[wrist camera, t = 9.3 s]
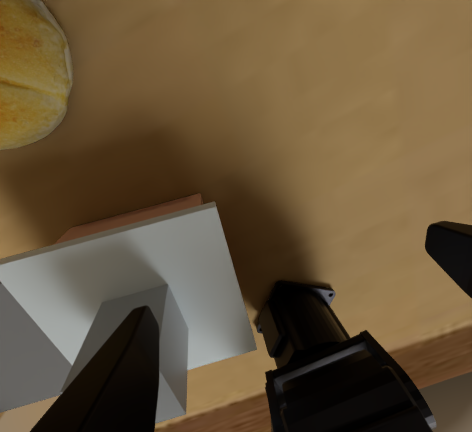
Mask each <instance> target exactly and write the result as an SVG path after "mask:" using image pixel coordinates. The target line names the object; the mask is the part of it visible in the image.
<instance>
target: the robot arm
mask: <svg viewBox="0 0 472 432" xmlns="http://www.w3.org/2000/svg"><path fill="white" fill-rule="evenodd" d="M425 249H426V251H427V253H428V254H429V255H430V256H431V257H432V258H433V259H434V260H435V261H436V263H437V264H438V265H439V266H440V267H441V268H442V269H443V270H444V271H445V272H446V273H447V274H448V275H449V276H450V277H451V278H452V279H453V280H454V281H455V282H456V283H457V285H458V286H459V287H460V288H461V289H462V290H463V291H464V292H465V293H466V294H468V295H469V296H470V297H471V298H472V225H467V224H461V223H454V222H448V221H440V222H437V223H433V224H431V225H429V227H428V229H427V235H426V242H425ZM279 286H281V287H279ZM334 297H335V292H334V290H333V289H331V288H325V287H319V286H313V285H306V284H300V283H293V282H287V281H278V282H276V283H275V285H274V288H273V290H272V292H271V294H270V297H269V299H268V300H267V301H266V303H265V305H264V308H263V310H262V312H261V314H260V317H259V321H258V324H257V326H256V329H257V332H258V333H263V337H264V340H265V344H266V347H267V351H268V354H269V356H270V357H271V358H274V359H275V362H276V366H277V369H275V370H273V371H272V370H269V371H267V372H265V374H266V380H267V383H266V387H265V389H266V393H267V397H268V402H269V408H270V414H271V432H433V431H432V430H433V429H435V428H436V422H435V419H434V417H433V414H432V412H431V410H430V408H429V407H428V405H427V403H426V401H425V400H424V398H423V396H422V395H421V394H420V392H419V390H418V389H417V387H416V386H415V384H414V383H413V381H412V380H411V379H410V378H409V376H408V375H407V374H406V372H405V371H404V370H403V369H402V368H401V367H400V366H399V365H398V364H397V362H396V361H395V360H394V359H393V358H392V357H391V356H390V355H389V354H388V353H387V352H386V351H385V350H384V349H383V347H382V346H381V345H380V344H379V343H378V342H377V341H376V340H375V339H374V338H373V337H372V336H371V335H370V334H369V332H368V331H367V330H365V331H363V332H360V334H359V335H356V336H354V337H352V338H350V336H349V335H348V333H347V332H346V330H345V329H344V327H343V326H342V324H341V323H340V321H339V320H338V318H337V316H336V315H335V313H334V312H333V310H332V309H331V307H330V306H329V305H330V304H331V302H332V300H333V298H334ZM159 353H160V330H159V324H158V322H157V320H156V318H155V316H154V314H153V312H152V311H151V309H150V307H149V306H148V305H143V306H140V307H136V308H134V309H133V310H132V311H131V312H130V313H129V314H128V315H127V317H126V318H125V319H124V320H123V321H122V322H121V324H120V325H119V326H118V327H117V328H116V330H115V331H114V332H113V333H112V334H111V336H110V337H109V338H108V339H107V340H106V342H105V343H104V344H103V345H102V346H101V347H100V349H99V350H98V351H97V352H96V353H95V355H94V356H93V357H92V358H91V359H90V361H89V362H88V363H87V364H86V365H85V366H84V368H83V369H82V370H81V371H80V372H79V374H78V375H77V376H76V377H75V378H74V380H73V381H72V382H71V383H70V384H69V386H68V387H67V388H66V389H65V390H64V391H63V393H62V394H61V395H60V396H59V397H58V399H57V400H56V401H55V402H54V404H53V405H52V406H51V407H50V408H49V409H48V411H47V412H46V413H45V414H44V415H43V417H42V418H41V419H40V420H39V421H38V422H37V424H36V425H35V426H34V427H33V428H32V430H31V431H30V432H154V429H155V420H156V411H157V401H158V392H159Z"/></svg>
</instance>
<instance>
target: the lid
mask: <svg viewBox="0 0 472 432" xmlns="http://www.w3.org/2000/svg"><path fill="white" fill-rule="evenodd" d="M0 282H1V283H2V284H3V285H4V286H5V287H6V289H7V290H8V291H9V292H10V293H11V295H12V296H13V297H14V298H15V299H16V300H17V302H18V303H19V304H20V305H21V306H22V307H23V309H24V310H25V311H26V312H27V313H28V314H29V316H30V317H31V318H32V319H33V320H34V321H35V323H36V324H37V325H38V326H39V327H40V328H41V330H42V331H43V332H44V333H45V334H46V335H47V337H48V338H49V339H50V340H51V341H52V342H53V344H54V345H55V346H56V347H57V348H58V349H59V351H60V352H61V353H62V354H63V355H64V357H65V358H66V359H67V360H68V361H69V362H70V364H71V365H72V368H71V370H70V372H69V374H68V376H67V378H66V381H65V383H64V385H63V387H62V389H61V391H60V393H61V394H62V393H63V391H64V390H65V389H66V388H67V387H68V386H69V384H70V383H71V382H72V381H73V380H74V378H75V377H76V376H77V375H78V374H79V372H80V371H81V370H82V369H83V368H84V366H85V365H86V364H87V363H88V362H89V361H90V359H91V358H92V357H93V356H94V355H95V353H96V352H97V351H98V350H99V349H100V347H101V346H102V345H103V344H104V343H105V342H106V340H107V339H108V338H109V337H110V336H111V334H112V333H113V332H114V331H115V330H116V328H117V327H118V326H119V325H120V324H121V322H122V321H123V320H124V319H125V318H126V317H127V315H128V314H129V313H130V312H131V311H132V310H133V309H134V308H136V307H140V306H143V305H148V306H149V307H150V309H151V311H152V312H153V314H154V316H155V318H156V320H157V322H158V324H159V330H160V353H159V392H158V401H157V411H156V420H155V423H159V422H162V421H165V420H169V419H172V418H175V417H179V416H182V415H185V414H186V399H187V370H189V369H193V368H196V367H200V366H203V365H206V364H210V363H213V362H217V361H220V360H223V359H227V358H230V357H233V356H237V355H240V354H244V353H247V352H250V351H254V350H257V347H256V343H255V339H254V336H253V332H252V329H251V325H250V322H249V318H248V315H247V311H246V308H245V304H244V301H243V297H242V294H241V291H240V287H239V284H238V280H237V277H236V273H235V270H234V266H233V263H232V259H231V256H230V252H229V249H228V245H227V242H226V238H225V235H224V231H223V228H222V224H221V221H220V218H219V214H218V211H217V207H216V204H215V201H214V202H210V203H206V204H203V205H199V206H195V207H192V208H188V209H184V210H180V211H177V212H173V213H169V214H166V215H162V216H158V217H154V218H151V219H147V220H143V221H140V222H136V223H132V224H128V225H125V226H121V227H117V228H114V229H110V230H106V231H102V232H99V233H95V234H91V235H88V236H84V237H80V238H76V239H73V240H69V241H65V242H62V243H58V244H54V245H50V246H47V247H43V248H39V249H36V250H32V251H28V252H24V253H21V254H17V255H13V256H10V257H6V258H2V259H0Z"/></svg>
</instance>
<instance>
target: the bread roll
mask: <svg viewBox="0 0 472 432" xmlns="http://www.w3.org/2000/svg"><path fill="white" fill-rule="evenodd" d="M72 83H73V64H72V57H71V53H70V49H69V45H68V42H67V38H66V36H65V34H64V32H63V30H62V28H61V27H60V25H59V24H58V22H57V21H56V19H55V18H54V17H53V15H52V14H51V13H50V12H49V11H48V8H47V7H46V5H45V4H44V3H43V2H42V1H41V0H0V150H3V149H12V148H19V147H22V146H25V145H28V144H29V145H30V144H31V143H35V142H37V141H38V140H40V139H43V138H45V137H46V136H47V135H49V134H51V132H52V131H53V130H54V129H55V128H56V127H57V126H58V125H60V123H61V121H62V120H63V118H64V116H65V115H66V112H67V107H68V96H69V94H70V91H71V88H72Z"/></svg>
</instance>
